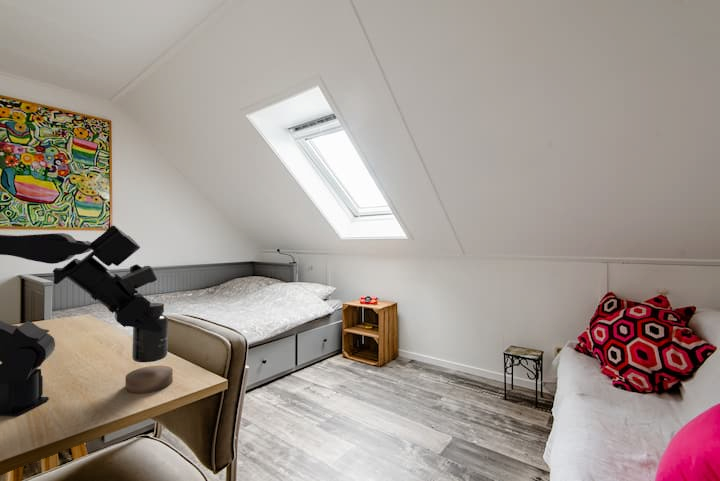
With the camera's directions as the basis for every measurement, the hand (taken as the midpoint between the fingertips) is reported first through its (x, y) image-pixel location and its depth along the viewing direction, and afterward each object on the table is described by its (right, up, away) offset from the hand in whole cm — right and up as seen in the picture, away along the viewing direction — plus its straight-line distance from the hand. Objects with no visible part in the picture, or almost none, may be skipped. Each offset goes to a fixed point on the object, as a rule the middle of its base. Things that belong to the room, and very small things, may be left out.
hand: (157, 327), depth 81 cm
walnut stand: (-1, -12, -2) cm, 12 cm away
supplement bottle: (-1, -7, -1) cm, 7 cm away
